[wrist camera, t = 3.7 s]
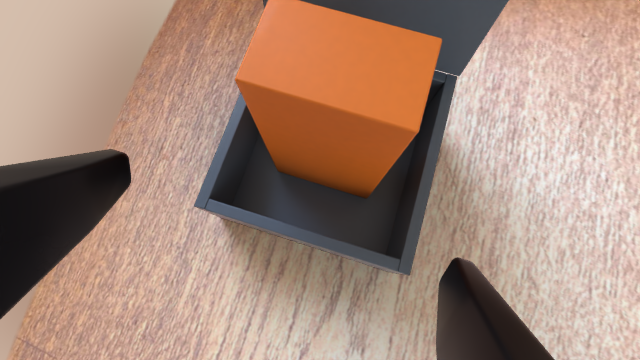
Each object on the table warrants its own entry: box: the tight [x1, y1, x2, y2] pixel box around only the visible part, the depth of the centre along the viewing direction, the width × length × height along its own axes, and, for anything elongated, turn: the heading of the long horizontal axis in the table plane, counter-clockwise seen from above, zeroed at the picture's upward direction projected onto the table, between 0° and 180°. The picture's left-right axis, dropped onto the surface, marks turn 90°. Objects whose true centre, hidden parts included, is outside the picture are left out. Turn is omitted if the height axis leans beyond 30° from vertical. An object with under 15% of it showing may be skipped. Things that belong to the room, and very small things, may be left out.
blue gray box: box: [194, 71, 457, 275], centre depth 19 cm, size 11×11×5 cm
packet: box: [235, 0, 442, 198], centre depth 16 cm, size 4×6×11 cm, turn 73°
